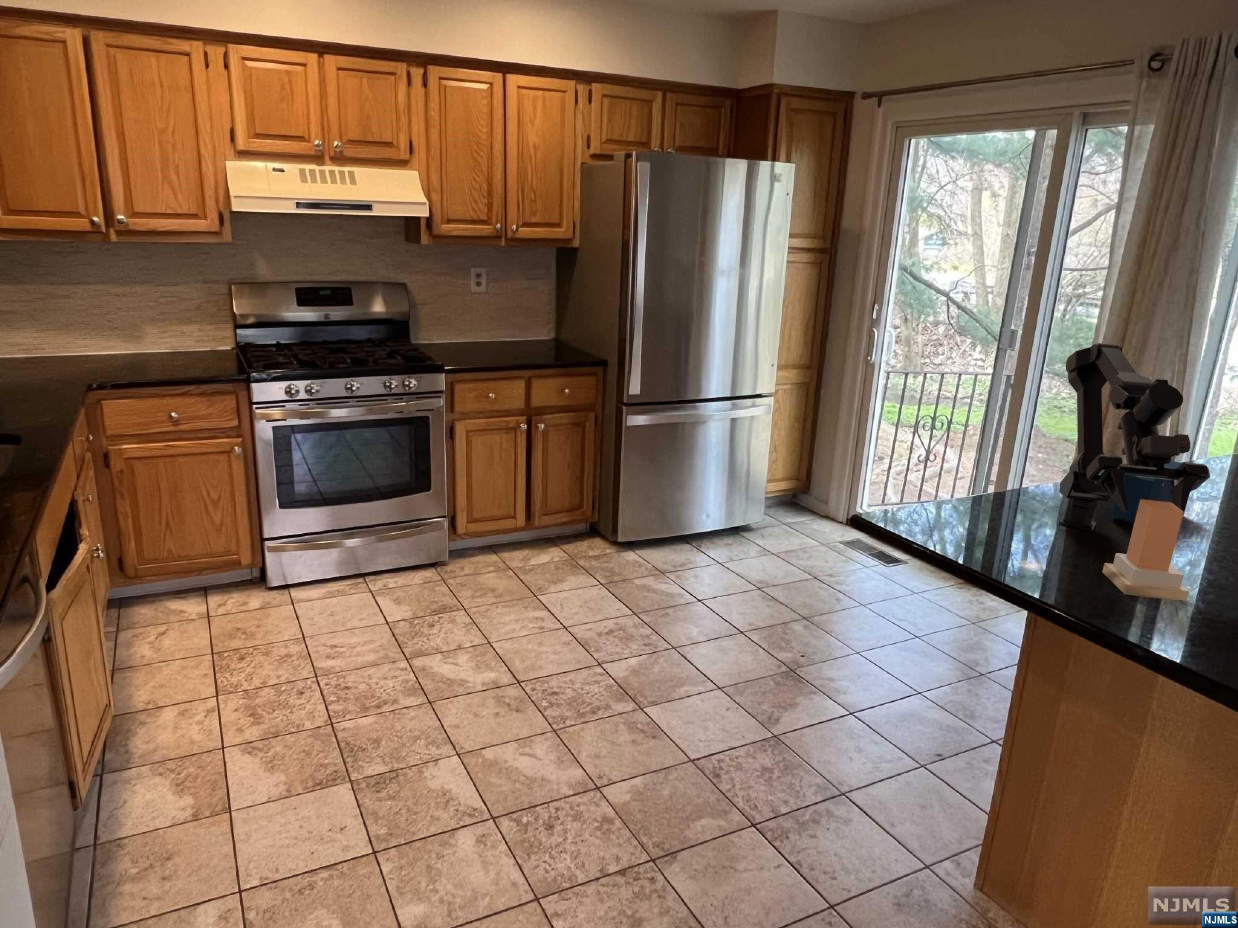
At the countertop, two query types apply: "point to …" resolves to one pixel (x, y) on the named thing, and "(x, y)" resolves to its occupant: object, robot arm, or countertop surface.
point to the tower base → (1143, 586)
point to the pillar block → (1154, 534)
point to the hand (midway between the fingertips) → (1153, 514)
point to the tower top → (1147, 573)
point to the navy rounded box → (1144, 493)
